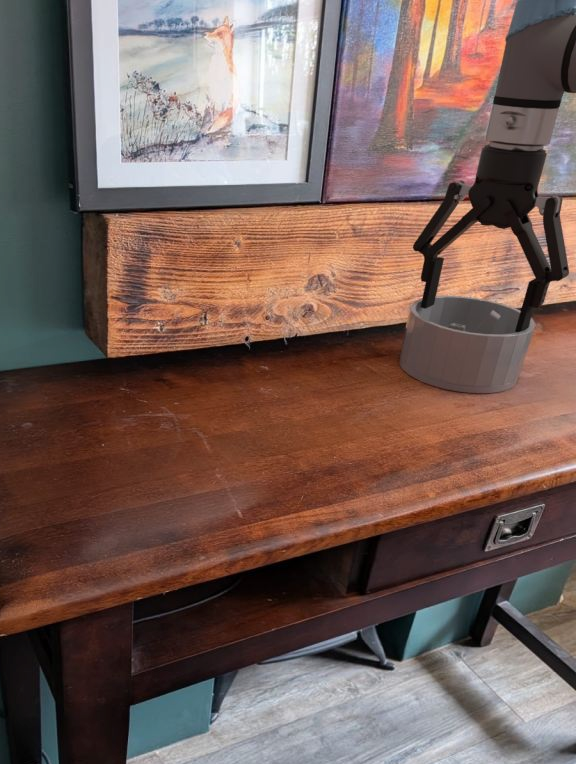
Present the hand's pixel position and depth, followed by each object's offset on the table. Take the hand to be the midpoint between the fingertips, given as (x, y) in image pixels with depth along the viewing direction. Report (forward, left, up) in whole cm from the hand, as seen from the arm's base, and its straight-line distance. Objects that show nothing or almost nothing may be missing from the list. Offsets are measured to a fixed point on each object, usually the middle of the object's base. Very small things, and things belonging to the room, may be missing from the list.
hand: (472, 317), depth 102 cm
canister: (0, 0, -8) cm, 8 cm away
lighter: (0, 0, -7) cm, 7 cm away
